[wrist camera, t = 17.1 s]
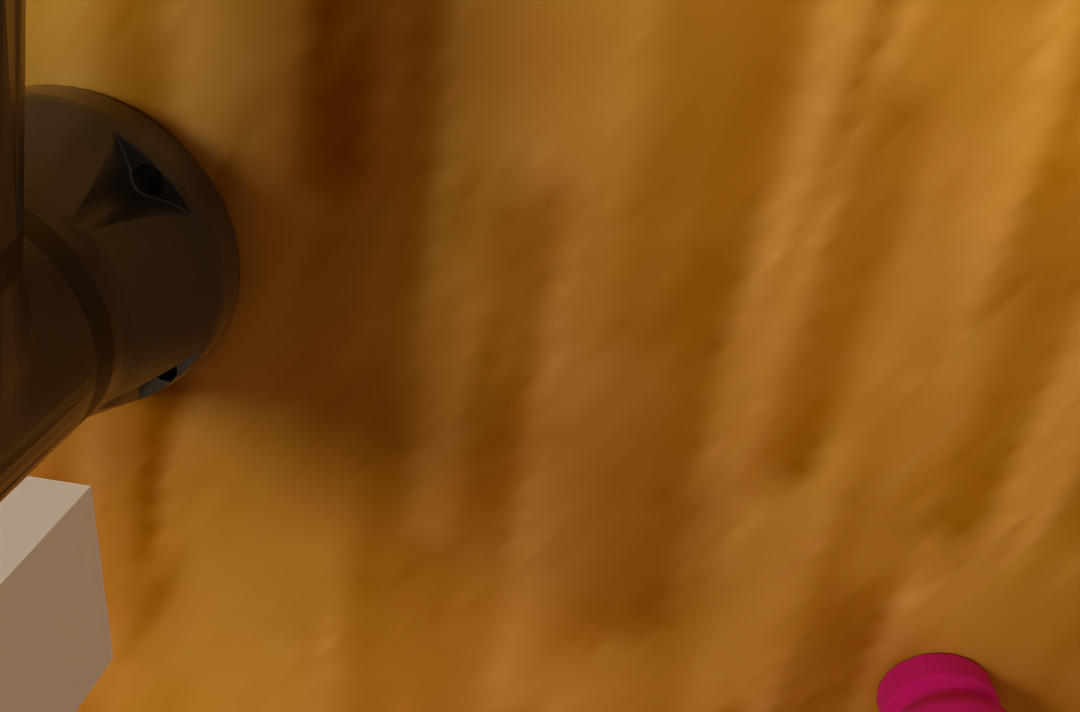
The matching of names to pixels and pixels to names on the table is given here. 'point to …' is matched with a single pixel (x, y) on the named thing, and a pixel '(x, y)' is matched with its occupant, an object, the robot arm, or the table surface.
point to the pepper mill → (937, 686)
